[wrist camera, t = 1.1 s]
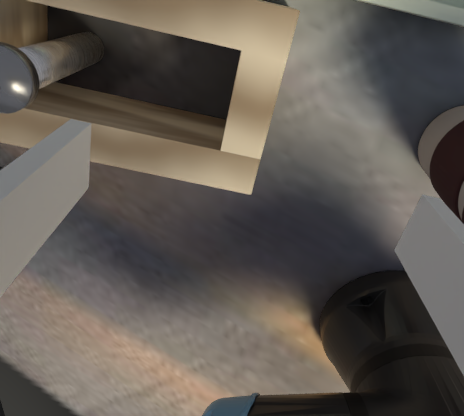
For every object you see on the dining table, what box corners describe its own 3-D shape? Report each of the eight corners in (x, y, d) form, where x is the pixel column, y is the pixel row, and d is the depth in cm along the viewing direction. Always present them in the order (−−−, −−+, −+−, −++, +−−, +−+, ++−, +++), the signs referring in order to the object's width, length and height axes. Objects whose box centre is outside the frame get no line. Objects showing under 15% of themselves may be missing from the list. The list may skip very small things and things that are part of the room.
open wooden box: (250, 157, 38) (250, 195, 31) (15, 106, 36) (-42, 133, 29) (288, 6, 32) (299, 10, 25) (6, -62, 30) (-68, -79, 23)
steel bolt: (109, 74, 35) (31, 119, 22) (67, 64, 34) (-34, 105, 22) (112, 30, 33) (29, 52, 21) (68, 19, 33) (-42, 36, 20)
